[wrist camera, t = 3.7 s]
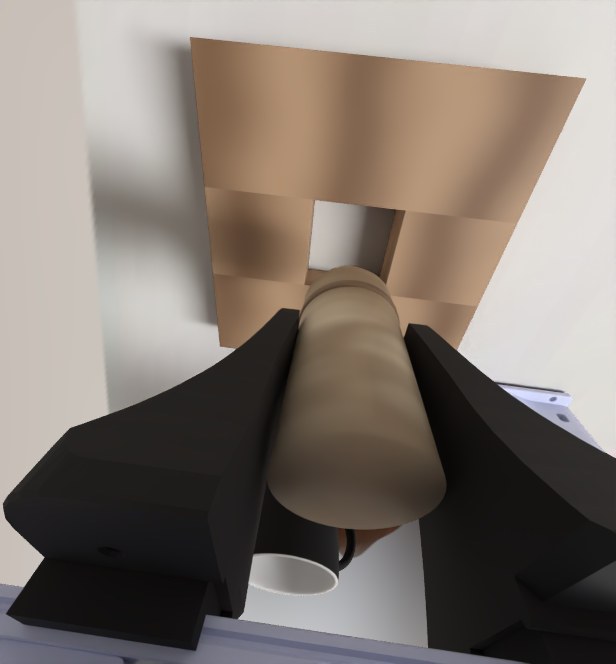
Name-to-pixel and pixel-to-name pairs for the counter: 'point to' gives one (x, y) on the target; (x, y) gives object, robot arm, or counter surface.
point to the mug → (296, 552)
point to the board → (366, 172)
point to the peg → (353, 413)
